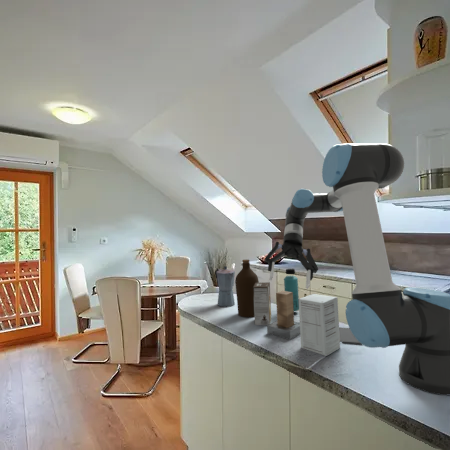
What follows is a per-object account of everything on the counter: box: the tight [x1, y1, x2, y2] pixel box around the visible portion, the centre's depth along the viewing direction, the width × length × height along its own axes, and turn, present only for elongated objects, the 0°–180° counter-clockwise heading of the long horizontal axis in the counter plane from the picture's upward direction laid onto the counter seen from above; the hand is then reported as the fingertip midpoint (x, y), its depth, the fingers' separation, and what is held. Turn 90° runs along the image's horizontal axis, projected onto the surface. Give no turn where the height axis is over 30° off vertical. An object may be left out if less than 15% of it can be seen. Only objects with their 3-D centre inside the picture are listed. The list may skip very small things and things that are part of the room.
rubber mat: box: [339, 326, 364, 346], centre depth 114 cm, size 14×12×1 cm
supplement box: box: [298, 293, 341, 357], centre depth 104 cm, size 10×9×17 cm
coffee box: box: [253, 281, 272, 326], centre depth 133 cm, size 9×6×16 cm
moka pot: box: [214, 265, 236, 307], centre depth 164 cm, size 10×15×20 cm, turn 42°
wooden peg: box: [275, 290, 295, 328], centre depth 119 cm, size 4×4×15 cm
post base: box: [266, 320, 300, 341], centre depth 119 cm, size 10×10×4 cm
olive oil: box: [234, 259, 260, 318], centre depth 145 cm, size 11×11×25 cm
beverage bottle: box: [283, 268, 300, 312], centre depth 145 cm, size 6×7×20 cm
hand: (289, 282), depth 116 cm, fingers open, 13 cm apart
